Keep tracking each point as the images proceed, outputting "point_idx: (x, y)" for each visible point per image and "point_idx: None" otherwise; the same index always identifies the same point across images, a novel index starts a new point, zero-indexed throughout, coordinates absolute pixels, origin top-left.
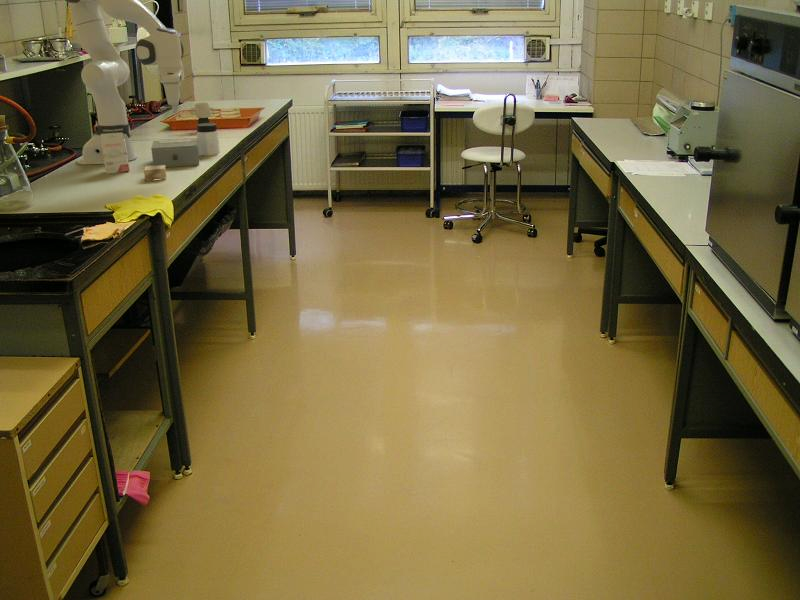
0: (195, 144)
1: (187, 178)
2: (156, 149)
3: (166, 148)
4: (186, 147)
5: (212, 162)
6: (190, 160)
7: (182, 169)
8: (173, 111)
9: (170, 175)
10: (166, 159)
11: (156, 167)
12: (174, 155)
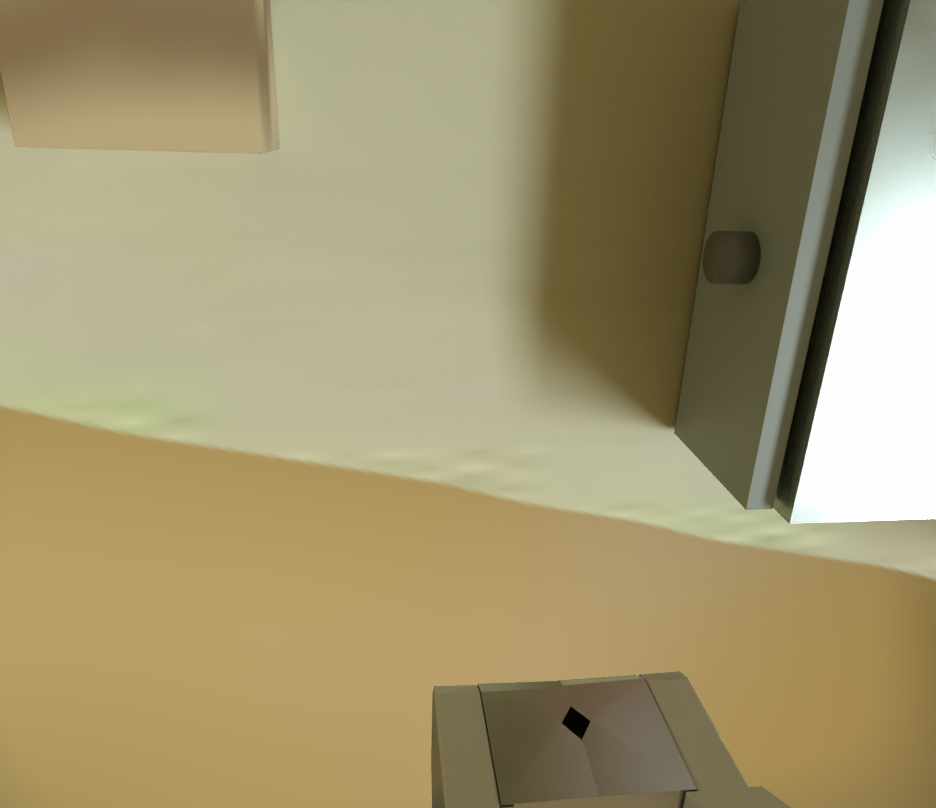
0: (848, 506)
1: (110, 353)
2: (884, 37)
3: (858, 178)
4: (803, 410)
5: (744, 530)
6: (702, 387)
7: (554, 299)
8: (442, 787)
9: (298, 189)
10: (753, 155)
11: (123, 41)
12: (726, 256)
